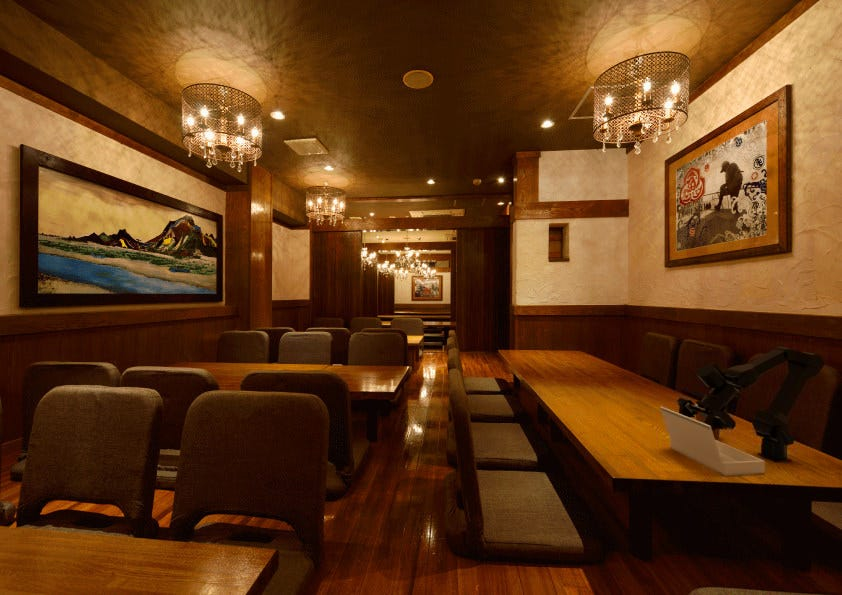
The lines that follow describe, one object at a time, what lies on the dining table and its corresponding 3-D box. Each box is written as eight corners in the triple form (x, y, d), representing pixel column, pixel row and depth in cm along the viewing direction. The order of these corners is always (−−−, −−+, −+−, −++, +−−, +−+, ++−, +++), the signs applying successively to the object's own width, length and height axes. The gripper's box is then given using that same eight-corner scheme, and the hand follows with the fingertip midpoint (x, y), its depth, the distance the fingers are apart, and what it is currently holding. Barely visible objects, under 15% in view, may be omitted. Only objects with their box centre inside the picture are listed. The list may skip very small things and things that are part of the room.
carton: (704, 446, 142) (704, 435, 142) (764, 473, 120) (765, 461, 120) (670, 447, 140) (670, 437, 140) (724, 476, 118) (724, 463, 118)
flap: (661, 406, 139) (659, 407, 139) (710, 425, 118) (708, 426, 118) (671, 437, 139) (669, 437, 139) (722, 461, 119) (720, 462, 119)
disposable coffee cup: (697, 439, 148) (698, 409, 148) (690, 431, 157) (690, 402, 157) (727, 443, 145) (728, 411, 145) (718, 434, 154) (718, 404, 154)
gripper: (760, 423, 122) (727, 458, 121) (709, 406, 140) (681, 436, 139) (738, 398, 121) (705, 434, 120) (690, 384, 139) (661, 415, 138)
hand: (688, 430), depth 129 cm, fingers closed on flap, 8 cm apart
